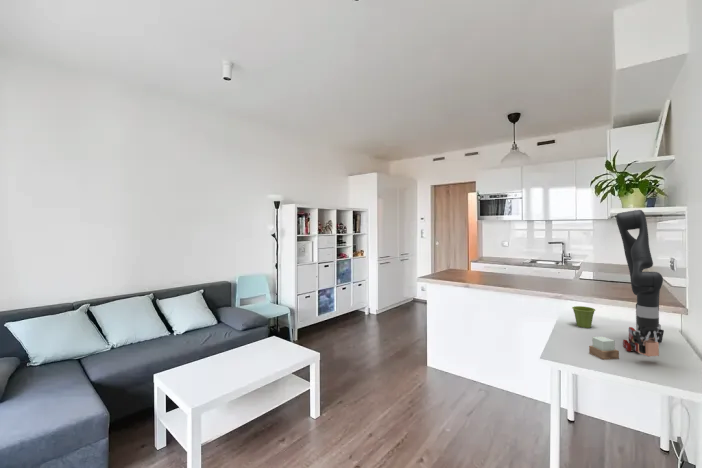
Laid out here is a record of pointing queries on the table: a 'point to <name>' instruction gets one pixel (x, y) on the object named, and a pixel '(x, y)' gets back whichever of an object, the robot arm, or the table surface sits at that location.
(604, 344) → the greygreen middle
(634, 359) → the table surface
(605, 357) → the walnut base
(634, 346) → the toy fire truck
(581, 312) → the plant pot
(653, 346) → the terracotta block
